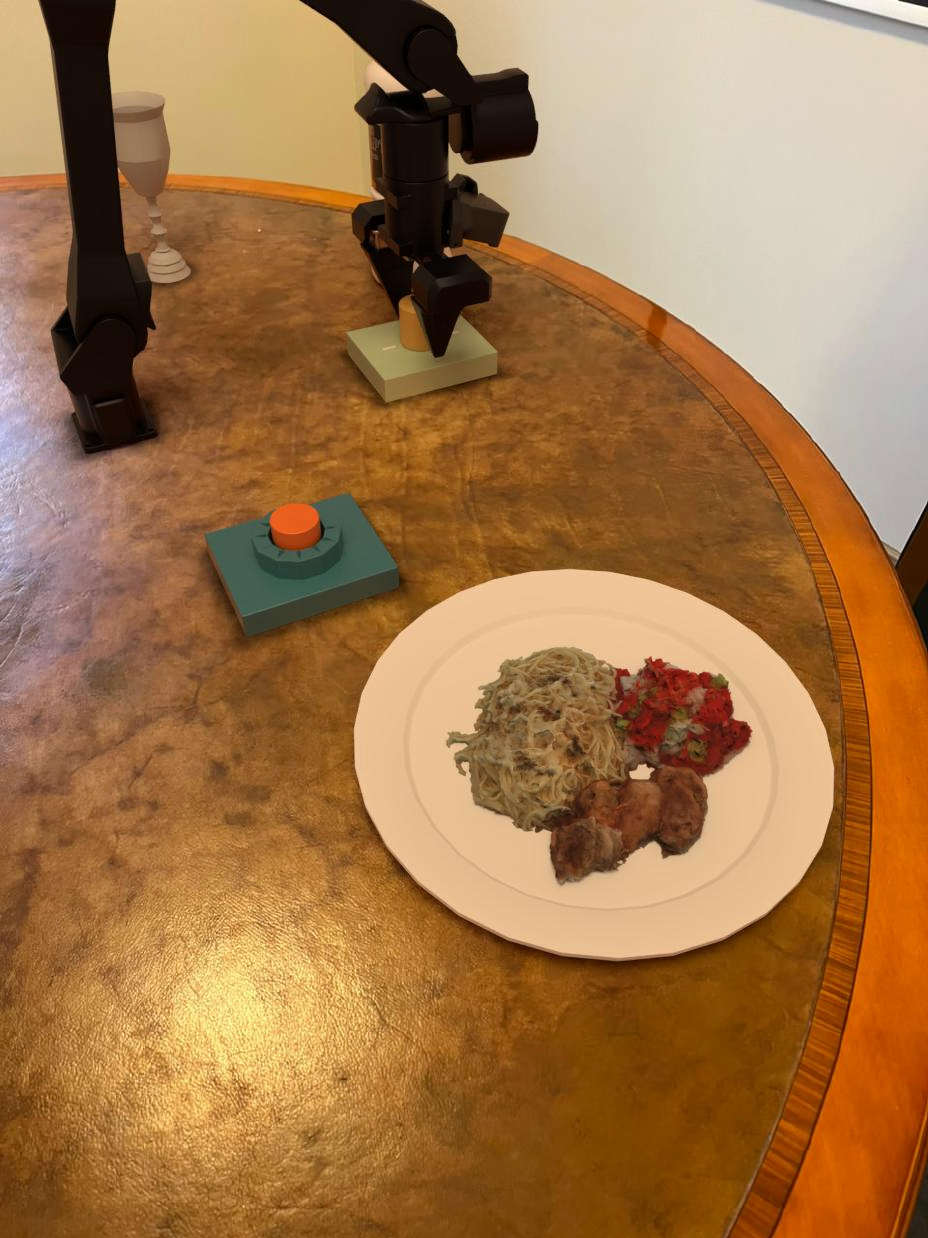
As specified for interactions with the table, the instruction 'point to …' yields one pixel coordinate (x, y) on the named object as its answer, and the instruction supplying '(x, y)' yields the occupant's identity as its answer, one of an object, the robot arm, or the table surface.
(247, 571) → the teal button base
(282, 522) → the button
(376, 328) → the panel
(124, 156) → the chalice
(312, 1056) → the table surface
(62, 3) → the robot arm
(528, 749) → the plated food
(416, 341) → the lock dial
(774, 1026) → the table surface
